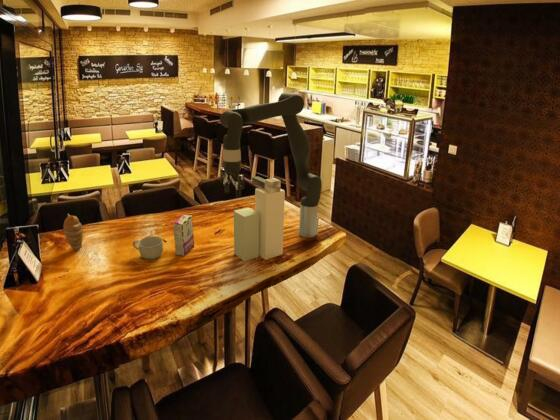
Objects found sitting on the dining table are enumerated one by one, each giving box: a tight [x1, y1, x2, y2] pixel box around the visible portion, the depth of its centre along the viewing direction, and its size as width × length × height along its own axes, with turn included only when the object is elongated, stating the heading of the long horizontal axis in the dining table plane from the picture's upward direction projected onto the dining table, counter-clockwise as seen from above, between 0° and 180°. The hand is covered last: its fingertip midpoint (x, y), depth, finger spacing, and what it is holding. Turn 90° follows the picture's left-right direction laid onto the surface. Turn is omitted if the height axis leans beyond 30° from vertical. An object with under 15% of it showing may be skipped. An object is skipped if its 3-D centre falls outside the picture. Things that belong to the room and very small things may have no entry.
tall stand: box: [254, 187, 286, 261], centre depth 179 cm, size 10×9×32 cm
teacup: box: [132, 235, 164, 260], centre depth 177 cm, size 14×11×8 cm
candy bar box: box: [172, 214, 195, 257], centre depth 182 cm, size 11×5×16 cm, turn 168°
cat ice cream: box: [62, 213, 84, 251], centre depth 179 cm, size 9×8×18 cm
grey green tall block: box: [233, 207, 260, 262], centre depth 178 cm, size 8×9×22 cm
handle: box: [251, 175, 282, 193], centre depth 175 cm, size 5×17×5 cm, turn 37°
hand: (232, 194), depth 171 cm, fingers open, 8 cm apart
